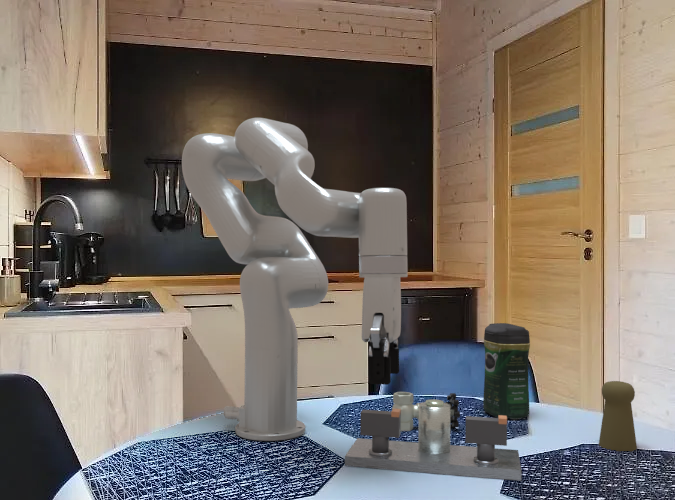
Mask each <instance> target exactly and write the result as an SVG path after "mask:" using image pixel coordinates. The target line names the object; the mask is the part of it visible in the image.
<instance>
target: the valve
mask: <svg viewBox="0 0 675 500" xmlns="http://www.w3.org/2000/svg"><path fill="white" fill-rule="evenodd" d="M392 396H393V397H392V400H393V401H392V402H393V405H392V408H391V411H392V410H393V409H401V432H410V431H412V430H413V429H414V418H416V419H417V420H418V421H419V404H420V403H421V402H417V403H415V404H413V403H414V393H412V392H409V391H408V392H407V391H397V392H394V393H393V395H392ZM446 400H447V401H444V403H447V404H449V405H450V406H451V409H450V430H452V429H457V428H458V427H459V426H460V425H459V421H458V419H459V418H460V417H461V413H460V411H459V410H458V409H459V408H458V407H459V406H460V402H459V399H457V393H453V392H452V393H451V392H450V393H449V395H447V396H446Z"/></svg>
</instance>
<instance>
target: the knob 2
mask: <svg viewBox="0 0 675 500" xmlns="http://www.w3.org/2000/svg"><path fill="white" fill-rule="evenodd" d="M464 441H465V444H476V447H477V459H478V460H480V461H484V462H492V461H494V460H495V448H496V446H506V447H507V446H508V444H507V443H508V418H507V416H504V415H498V417H488V416H487V417H485V416H484V417H483V416H470V415H468V416H467V415H465V440H464Z"/></svg>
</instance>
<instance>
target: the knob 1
mask: <svg viewBox="0 0 675 500" xmlns="http://www.w3.org/2000/svg"><path fill="white" fill-rule="evenodd" d="M359 430H360V431H359V432H360V436H369V437H371V439H372V451H373V452H375V453H387V452H389V441H390V438H396V439H399V438H400V437H401V432H402V431H401V409H393V410H392V409H391V410H390V411H388V410H378V409H377V410H376V409H375V410H374V409H362V410H361V411H360V429H359Z"/></svg>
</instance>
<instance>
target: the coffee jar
mask: <svg viewBox="0 0 675 500" xmlns="http://www.w3.org/2000/svg"><path fill="white" fill-rule="evenodd" d="M483 345H484V346H483V347H484V382H483V383H484V384H483V398H482V400H483V403H482V405H483V406H482V408H483V410H484V412H486V413H487V414H490V415H491V416H493V417H495V418H498V415H504V416H507V419H510V420H520V419H523V418H527V417H528V416H529V415H530V389H529V388H530V387H529V353H530V348H531V339H530V330H528V329H526V327H523V326H519V325H516V324H511V323H507V322H506V323H505V322H504V323H501V322H498V323H489V324H488V326H486V327H485V328H484V335H483Z"/></svg>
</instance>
